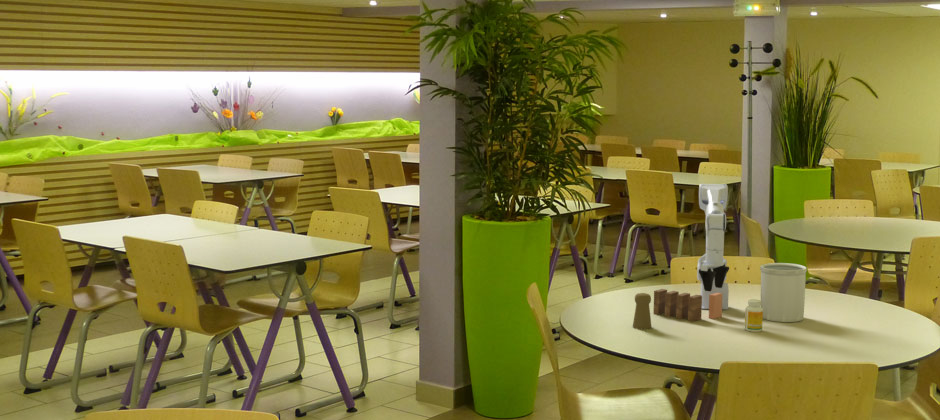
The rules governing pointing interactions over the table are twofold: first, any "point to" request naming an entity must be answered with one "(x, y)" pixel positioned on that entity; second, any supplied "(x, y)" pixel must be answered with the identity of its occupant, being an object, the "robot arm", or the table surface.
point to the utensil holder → (783, 291)
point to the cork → (642, 311)
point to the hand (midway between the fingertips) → (713, 289)
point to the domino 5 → (715, 305)
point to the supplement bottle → (753, 316)
